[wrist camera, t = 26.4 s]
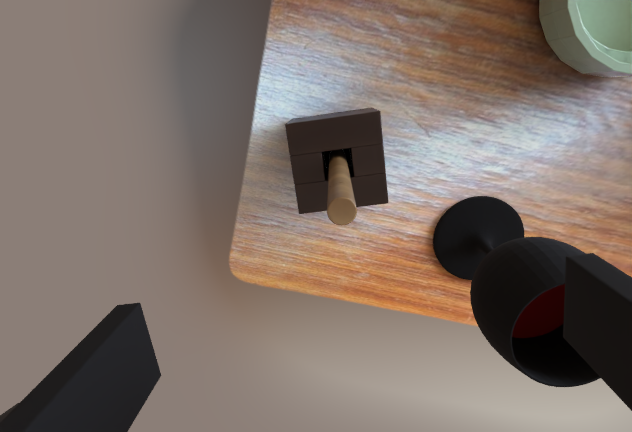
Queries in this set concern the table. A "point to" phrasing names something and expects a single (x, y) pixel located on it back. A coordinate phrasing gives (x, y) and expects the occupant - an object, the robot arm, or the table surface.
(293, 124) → the stand
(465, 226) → the wine glass
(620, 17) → the bowl
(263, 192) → the table surface
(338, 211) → the stick
